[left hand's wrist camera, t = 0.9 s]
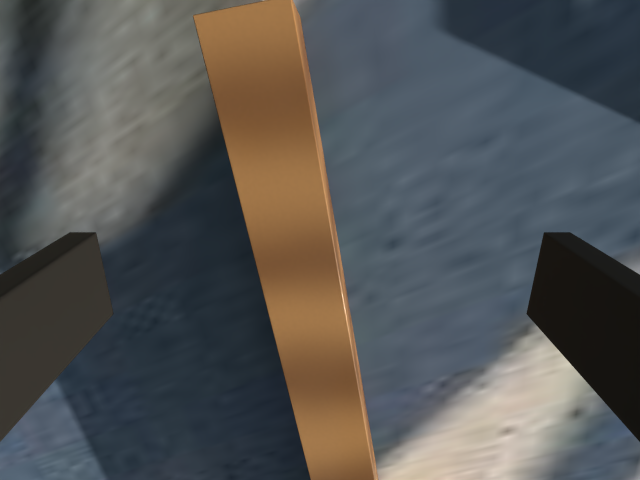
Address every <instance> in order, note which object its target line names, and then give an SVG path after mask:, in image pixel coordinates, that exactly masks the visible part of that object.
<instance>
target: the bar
mask: <svg viewBox="0 0 640 480" xmlns="http://www.w3.org/2000/svg"><path fill="white" fill-rule="evenodd" d="M193 18H194V22H195V26H196V30H197V34H198V38H199V42H200V46H201V50H202V54H203V57H204V61H205V65H206V69H207V73H208V77H209V81H210V85H211V89H212V93H213V97H214V101H215V105H216V109H217V113H218V117H219V120H220V124H221V128H222V132H223V136H224V140H225V144H226V148H227V152H228V156H229V160H230V164H231V168H232V172H233V176H234V180H235V183H236V187H237V191H238V195H239V199H240V203H241V207H242V211H243V215H244V219H245V223H246V227H247V231H248V235H249V239H250V243H251V246H252V250H253V254H254V258H255V262H256V266H257V270H258V274H259V278H260V282H261V286H262V290H263V294H264V298H265V302H266V306H267V309H268V313H269V317H270V321H271V325H272V329H273V333H274V337H275V341H276V345H277V349H278V353H279V357H280V361H281V365H282V369H283V372H284V376H285V380H286V384H287V388H288V392H289V396H290V400H291V404H292V408H293V412H294V416H295V420H296V424H297V428H298V432H299V435H300V439H301V443H302V447H303V451H304V455H305V459H306V463H307V467H308V471H309V475H310V479H311V480H378V475H377V469H376V463H375V457H374V451H373V445H372V439H371V434H370V428H369V422H368V416H367V410H366V404H365V398H364V392H363V386H362V380H361V374H360V368H359V363H358V357H357V351H356V345H355V339H354V333H353V327H352V321H351V315H350V309H349V303H348V297H347V292H346V286H345V280H344V274H343V268H342V262H341V256H340V250H339V244H338V238H337V232H336V226H335V221H334V215H333V209H332V203H331V197H330V191H329V185H328V179H327V173H326V167H325V161H324V155H323V149H322V144H321V138H320V132H319V126H318V120H317V114H316V108H315V102H314V96H313V90H312V84H311V78H310V73H309V67H308V61H307V55H306V49H305V43H304V37H303V31H302V25H301V19H300V16H299V14H298V11H297V9H296V7H295V4H294V2H293V0H265V1H260V2H255V3H250V4H245V5H241V6H236V7H231V8H226V9H221V10H216V11H211V12H206V13H201V14H196V15H193Z"/></svg>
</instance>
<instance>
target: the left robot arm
mask: <svg viewBox="0 0 640 480" xmlns="http://www.w3.org/2000/svg"><path fill="white" fill-rule="evenodd" d="M112 315H113V310H112V305H111V300H110V296H109V291H108V286H107V281H106V277H105V272H104V267H103V263H102V258H101V253H100V249H99V244H98V239H97V235H96V232H70V233H68V234H67V235H65V236H63V237H62V238H60V239H58V240H57V241H55V242H53V243H52V244H50V245H48V246H47V247H45V248H43V249H42V250H40V251H39V252H37V253H35V254H34V255H32V256H30V257H29V258H27V259H25V260H24V261H22V262H20V263H19V264H17V265H16V266H14V267H12V268H11V269H9V270H7V271H6V272H4V273H2V274H1V275H0V441H1V440H2V439H3V438H4V437H5V436H6V435H7V434H8V432H9V431H10V430H11V429H12V428H13V427H14V426H15V424H16V423H17V422H18V421H19V420H20V419H21V418H22V417H23V415H24V414H25V413H26V412H27V411H28V410H29V409H30V408H31V406H32V405H33V404H34V403H35V402H36V401H37V400H38V399H39V397H40V396H41V395H42V394H43V393H44V392H45V391H46V389H47V388H48V387H49V386H50V385H51V384H52V383H53V382H54V380H55V379H56V378H57V377H58V376H59V375H60V374H61V373H62V371H63V370H64V369H65V368H66V367H67V366H68V365H69V363H70V362H71V361H72V360H73V359H74V358H75V357H76V356H77V354H78V353H79V352H80V351H81V350H82V349H83V348H84V347H85V345H86V344H87V343H88V342H89V341H90V340H91V339H92V338H93V336H94V335H95V334H96V333H97V332H98V331H99V330H100V328H101V327H102V326H103V325H104V324H105V323H106V322H107V321H108V319H109V318H110V317H111V316H112ZM527 315H528V316H529V317H530V318H531V319H532V321H533V322H534V323H535V324H536V325H537V326H538V327H539V328H540V330H541V331H542V332H543V333H544V334H545V335H546V336H547V338H548V339H549V340H550V341H551V342H552V343H553V344H554V345H555V347H556V348H557V349H558V350H559V351H560V352H561V353H562V354H563V356H564V357H565V358H566V359H567V360H568V361H569V362H570V363H571V365H572V366H573V367H574V368H575V369H576V370H577V371H578V373H579V374H580V375H581V376H582V377H583V378H584V379H585V380H586V382H587V383H588V384H589V385H590V386H591V387H592V388H593V389H594V391H595V392H596V393H597V394H598V395H599V396H600V397H601V399H602V400H603V401H604V402H605V403H606V404H607V405H608V406H609V408H610V409H611V410H612V411H613V412H614V413H615V414H616V415H617V417H618V418H619V419H620V420H621V421H622V422H623V423H624V424H625V426H626V427H627V428H628V429H629V430H630V431H631V432H632V434H633V435H634V436H635V437H636V438H637V439H638V440H639V441H640V275H639V274H638V273H636V272H634V271H633V270H631V269H629V268H628V267H626V266H624V265H623V264H621V263H620V262H618V261H616V260H615V259H613V258H611V257H610V256H608V255H606V254H605V253H603V252H601V251H600V250H598V249H597V248H595V247H593V246H592V245H590V244H588V243H587V242H585V241H583V240H582V239H580V238H578V237H577V236H575V235H573V234H572V233H570V232H544V235H543V239H542V244H541V249H540V253H539V258H538V263H537V267H536V272H535V277H534V281H533V286H532V291H531V295H530V300H529V305H528V310H527Z"/></svg>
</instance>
